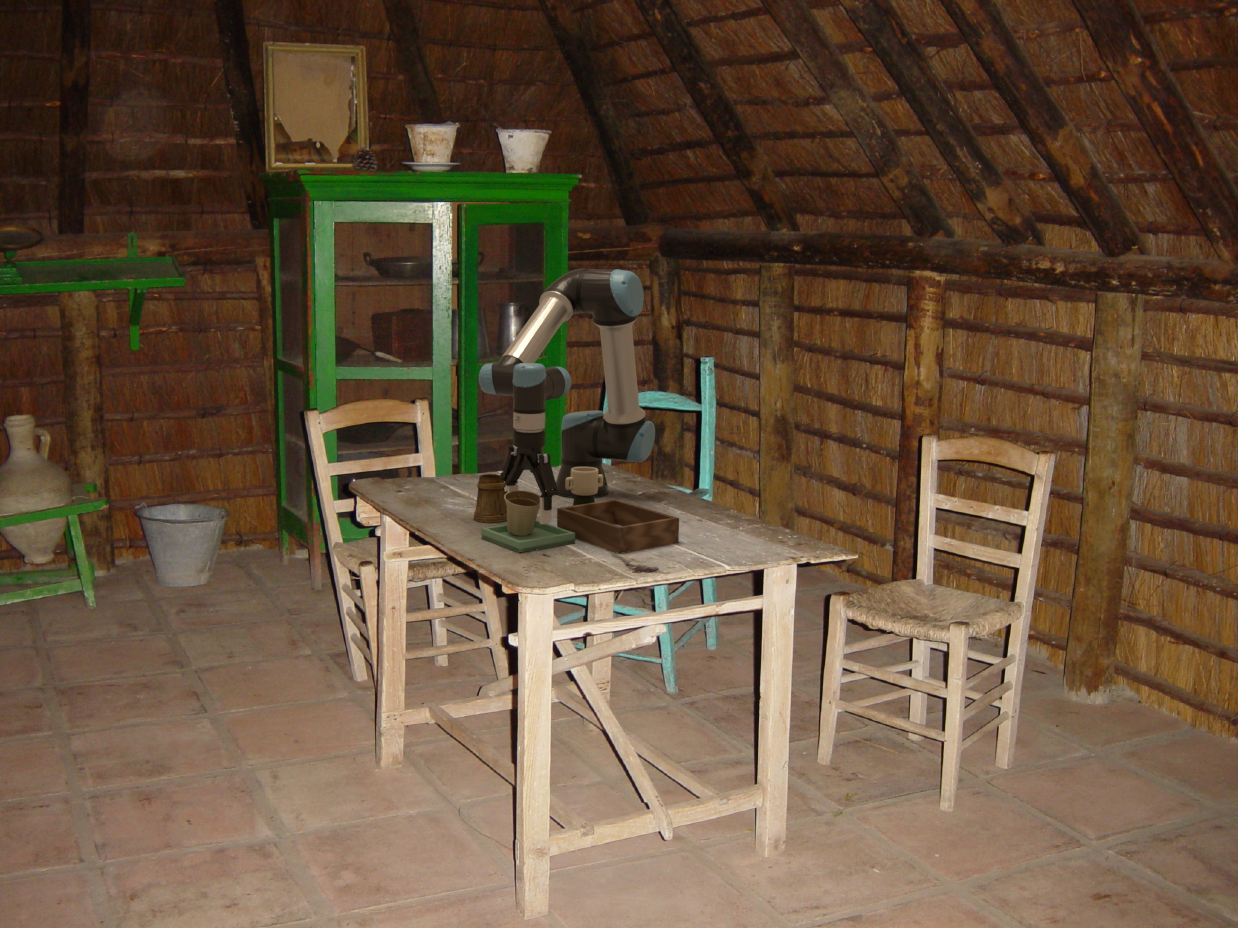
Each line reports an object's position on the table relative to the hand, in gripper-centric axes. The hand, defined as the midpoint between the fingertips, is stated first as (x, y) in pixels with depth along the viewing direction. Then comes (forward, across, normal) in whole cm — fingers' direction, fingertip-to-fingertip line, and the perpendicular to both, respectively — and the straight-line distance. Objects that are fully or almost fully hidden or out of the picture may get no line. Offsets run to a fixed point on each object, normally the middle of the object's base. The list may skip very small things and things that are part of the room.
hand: (528, 517), depth 288 cm
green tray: (+6, 0, 0) cm, 6 cm away
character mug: (+6, -11, +25) cm, 28 cm away
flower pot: (+4, -4, 0) cm, 5 cm away
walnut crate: (+6, +9, +20) cm, 23 cm away
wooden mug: (+6, -23, +7) cm, 25 cm away
